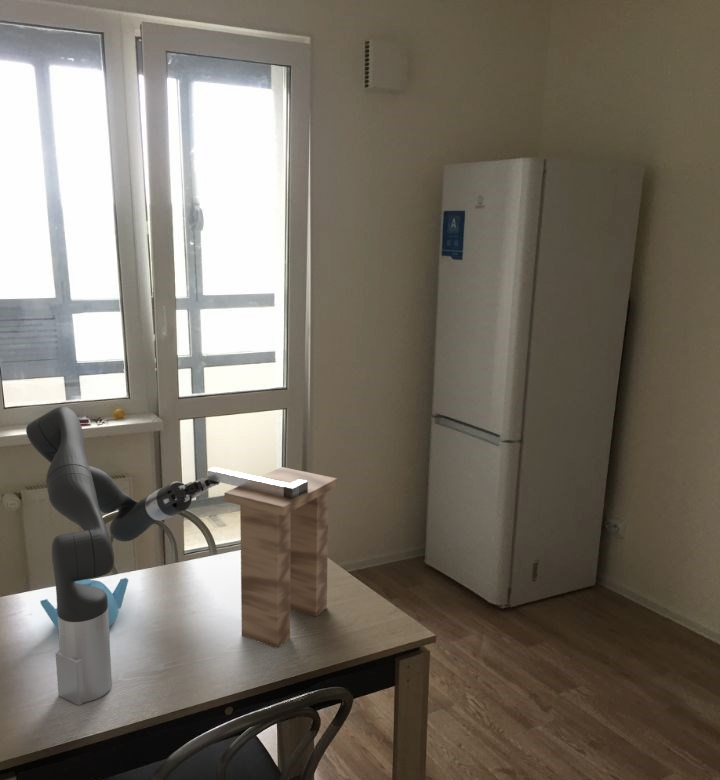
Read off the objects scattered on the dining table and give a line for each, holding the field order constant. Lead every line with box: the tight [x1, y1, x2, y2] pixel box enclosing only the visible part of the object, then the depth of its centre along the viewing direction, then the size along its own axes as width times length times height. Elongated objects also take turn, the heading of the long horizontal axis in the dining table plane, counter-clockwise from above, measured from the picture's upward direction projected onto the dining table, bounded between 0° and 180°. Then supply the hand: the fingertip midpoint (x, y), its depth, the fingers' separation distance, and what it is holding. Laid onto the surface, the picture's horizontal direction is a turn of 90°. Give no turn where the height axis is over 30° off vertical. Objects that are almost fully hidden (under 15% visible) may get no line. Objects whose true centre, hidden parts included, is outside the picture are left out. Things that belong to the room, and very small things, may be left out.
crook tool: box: [206, 466, 308, 499], centre depth 162 cm, size 6×24×2 cm, turn 61°
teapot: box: [39, 577, 129, 629], centre depth 165 cm, size 15×15×11 cm
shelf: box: [224, 466, 338, 649], centre depth 166 cm, size 22×16×34 cm
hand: (211, 480), depth 166 cm, fingers open, 8 cm apart
